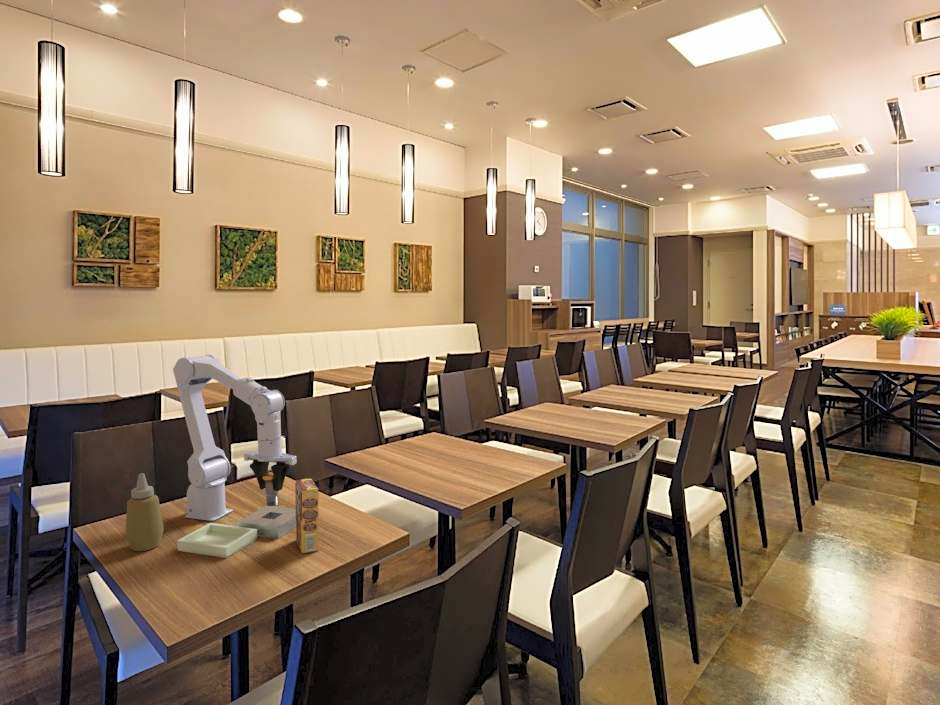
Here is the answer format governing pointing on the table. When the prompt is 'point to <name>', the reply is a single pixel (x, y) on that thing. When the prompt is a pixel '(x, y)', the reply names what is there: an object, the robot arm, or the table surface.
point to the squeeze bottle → (143, 517)
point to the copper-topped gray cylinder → (270, 489)
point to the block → (271, 521)
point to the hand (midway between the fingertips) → (271, 489)
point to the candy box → (307, 515)
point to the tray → (217, 540)
